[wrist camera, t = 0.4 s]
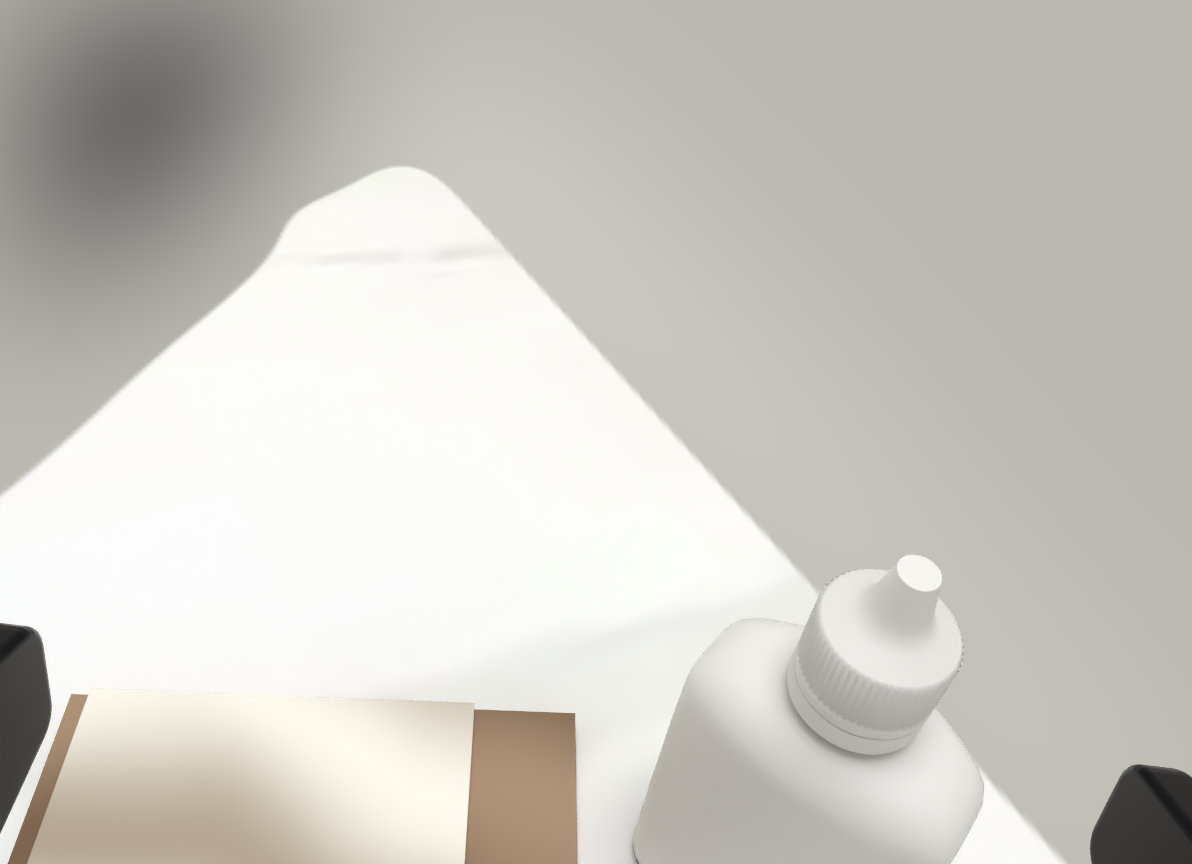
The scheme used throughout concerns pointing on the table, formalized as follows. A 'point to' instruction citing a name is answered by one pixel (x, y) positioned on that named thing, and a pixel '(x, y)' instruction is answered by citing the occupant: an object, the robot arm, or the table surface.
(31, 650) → the robot arm
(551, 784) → the board
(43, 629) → the table surface
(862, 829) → the eye dropper bottle
